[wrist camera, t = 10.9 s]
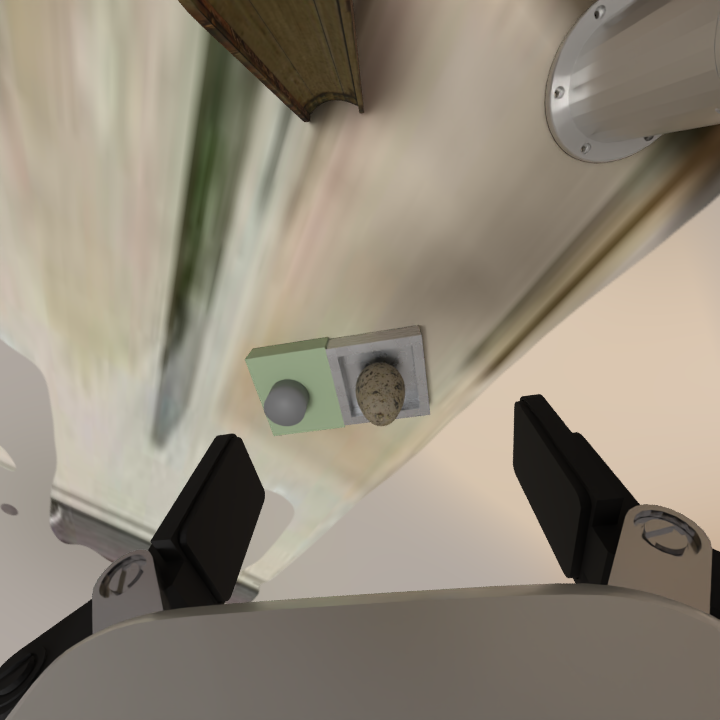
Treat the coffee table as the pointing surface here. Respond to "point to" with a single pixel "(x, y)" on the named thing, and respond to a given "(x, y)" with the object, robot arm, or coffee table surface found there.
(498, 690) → the robot arm
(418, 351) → the tray
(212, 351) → the coffee table surface
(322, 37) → the book
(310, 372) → the deck
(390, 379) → the decorative egg
